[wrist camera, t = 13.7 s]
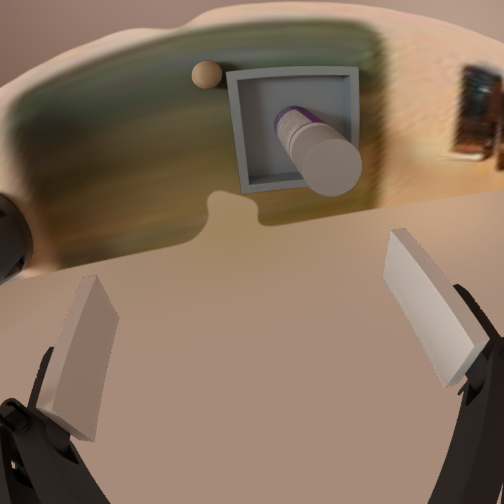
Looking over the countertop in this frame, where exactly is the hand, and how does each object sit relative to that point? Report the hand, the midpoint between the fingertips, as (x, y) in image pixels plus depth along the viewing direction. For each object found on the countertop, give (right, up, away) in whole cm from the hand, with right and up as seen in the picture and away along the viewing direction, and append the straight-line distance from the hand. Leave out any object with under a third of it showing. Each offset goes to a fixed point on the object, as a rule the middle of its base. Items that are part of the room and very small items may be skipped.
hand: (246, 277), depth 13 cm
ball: (-5, +20, +16) cm, 26 cm away
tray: (+5, +16, +20) cm, 26 cm away
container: (+5, +16, +20) cm, 26 cm away
